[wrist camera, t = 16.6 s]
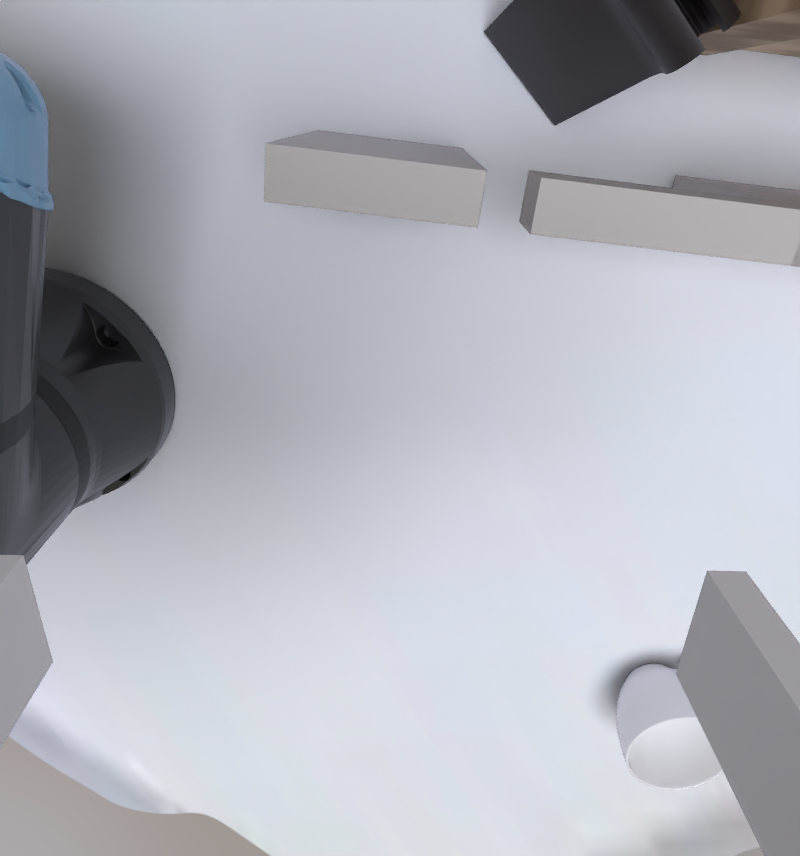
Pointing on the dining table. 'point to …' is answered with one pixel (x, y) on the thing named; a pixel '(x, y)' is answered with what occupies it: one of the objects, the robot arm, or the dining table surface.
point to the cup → (662, 732)
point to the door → (759, 29)
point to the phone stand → (600, 45)
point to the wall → (533, 198)
